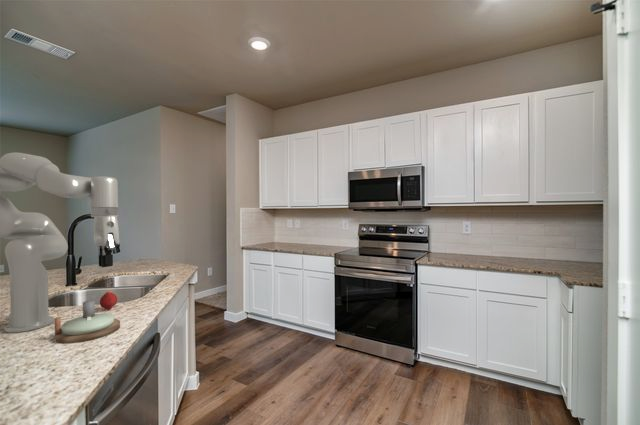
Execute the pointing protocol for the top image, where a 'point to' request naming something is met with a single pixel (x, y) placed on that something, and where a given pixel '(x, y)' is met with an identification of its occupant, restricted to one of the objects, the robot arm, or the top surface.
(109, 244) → the robot arm
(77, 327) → the turntable
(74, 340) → the base plate
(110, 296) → the onion
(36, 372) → the top surface
